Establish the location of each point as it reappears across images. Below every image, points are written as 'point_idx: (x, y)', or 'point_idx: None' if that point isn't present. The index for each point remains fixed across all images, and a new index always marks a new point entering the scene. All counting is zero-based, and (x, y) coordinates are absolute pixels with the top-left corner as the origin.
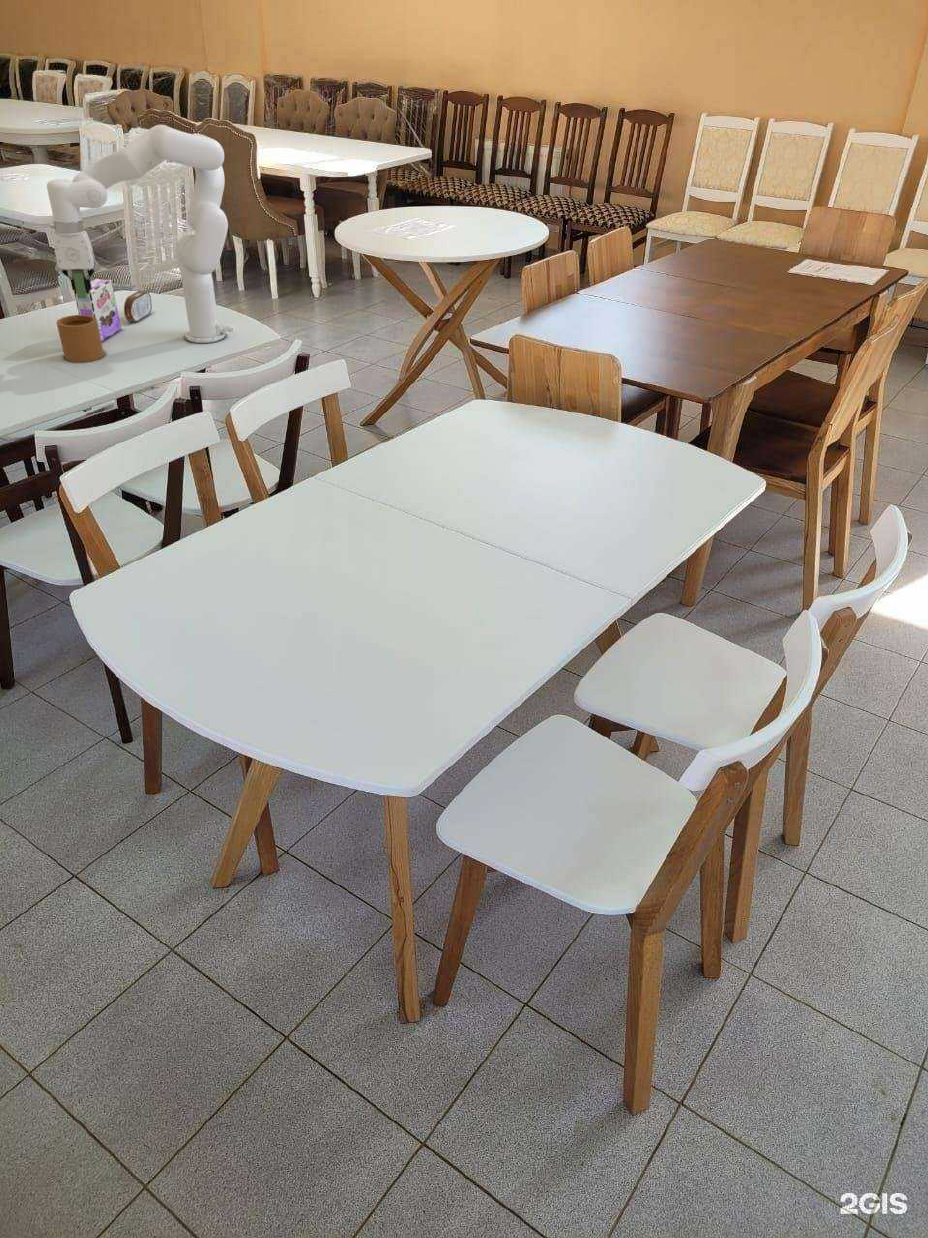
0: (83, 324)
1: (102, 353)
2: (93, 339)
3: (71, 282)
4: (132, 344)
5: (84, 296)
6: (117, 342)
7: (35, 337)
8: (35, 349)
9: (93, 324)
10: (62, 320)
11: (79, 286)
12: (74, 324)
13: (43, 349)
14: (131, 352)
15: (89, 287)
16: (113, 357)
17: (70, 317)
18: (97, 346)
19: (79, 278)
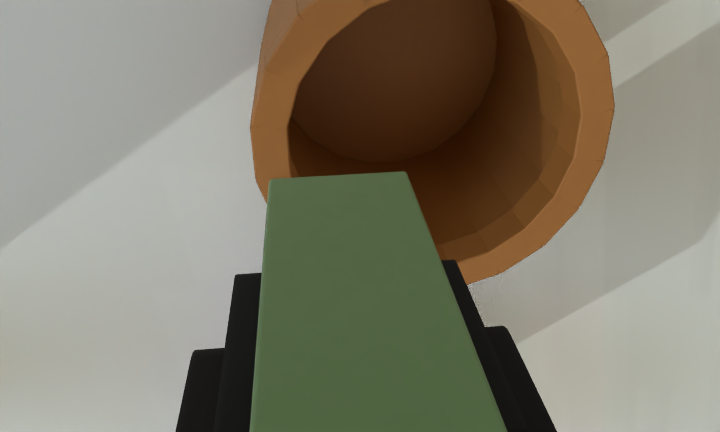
0: (350, 14)
1: (261, 44)
2: (284, 2)
3: (539, 410)
4: (132, 240)
5: (294, 184)
6: (233, 271)
7: (657, 339)
8: (666, 181)
9: (263, 66)
10: (560, 172)
11: (359, 280)
12: (464, 229)
13: (626, 179)
14: (88, 102)
15: (206, 363)
16: (183, 9)
17: (498, 240)
18: (272, 14)
19: (337, 424)
